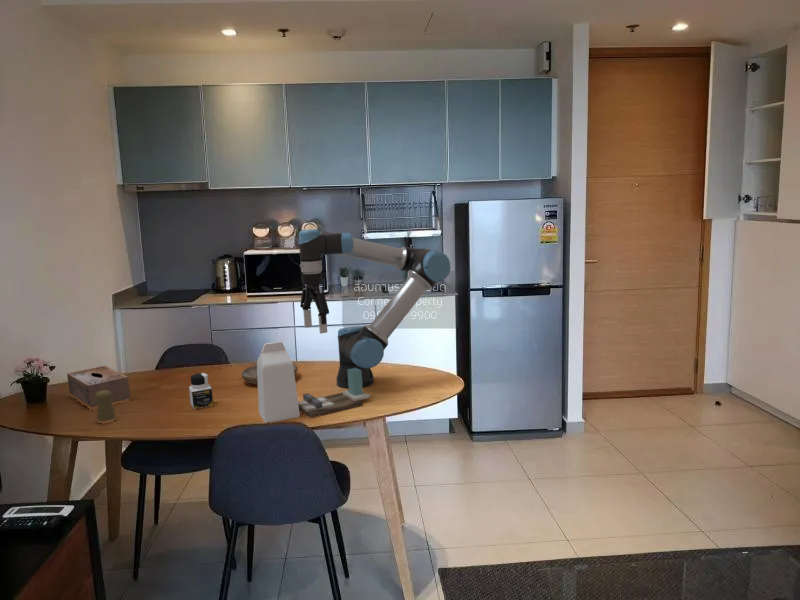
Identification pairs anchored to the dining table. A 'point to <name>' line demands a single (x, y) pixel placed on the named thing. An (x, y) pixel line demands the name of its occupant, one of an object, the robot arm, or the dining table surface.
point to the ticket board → (326, 404)
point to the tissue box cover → (98, 384)
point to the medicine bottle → (200, 391)
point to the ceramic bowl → (251, 374)
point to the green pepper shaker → (104, 405)
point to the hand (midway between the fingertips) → (315, 330)
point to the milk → (276, 384)
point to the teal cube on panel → (355, 385)
